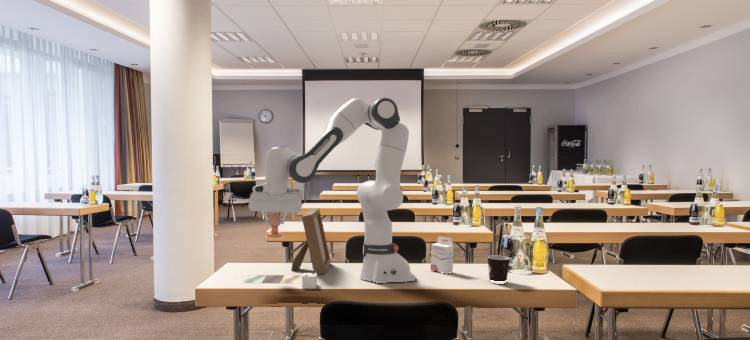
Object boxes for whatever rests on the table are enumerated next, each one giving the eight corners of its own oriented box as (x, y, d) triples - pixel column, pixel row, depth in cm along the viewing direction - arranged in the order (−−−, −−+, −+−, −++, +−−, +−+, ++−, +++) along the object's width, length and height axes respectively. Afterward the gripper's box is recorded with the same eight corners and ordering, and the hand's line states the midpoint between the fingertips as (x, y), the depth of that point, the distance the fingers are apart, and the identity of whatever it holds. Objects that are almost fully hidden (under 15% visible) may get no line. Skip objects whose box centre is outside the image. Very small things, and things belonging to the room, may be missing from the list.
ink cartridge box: (429, 271, 215) (430, 237, 214) (436, 269, 218) (437, 235, 218) (446, 274, 209) (447, 239, 208) (453, 272, 213) (454, 238, 212)
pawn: (282, 235, 197) (283, 212, 197) (280, 237, 192) (281, 214, 191) (268, 235, 197) (269, 212, 196) (266, 237, 191) (267, 213, 191)
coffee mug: (488, 278, 204) (488, 254, 203) (509, 281, 201) (510, 256, 200) (484, 285, 193) (485, 260, 192) (507, 288, 190) (508, 262, 189)
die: (316, 286, 188) (316, 272, 188) (315, 289, 183) (315, 276, 183) (303, 286, 188) (303, 272, 188) (302, 289, 183) (302, 276, 183)
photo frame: (330, 263, 225) (331, 208, 224) (325, 275, 203) (325, 214, 202) (298, 262, 225) (298, 207, 224) (288, 274, 204) (289, 213, 203)
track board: (304, 276, 202) (304, 274, 202) (300, 285, 188) (300, 284, 188) (247, 275, 201) (247, 274, 201) (239, 284, 187) (239, 283, 187)
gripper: (303, 188, 197) (302, 223, 198) (251, 186, 196) (250, 221, 197) (302, 189, 191) (300, 225, 191) (248, 187, 190) (246, 223, 190)
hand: (274, 223), depth 194 cm, fingers closed on pawn, 4 cm apart
